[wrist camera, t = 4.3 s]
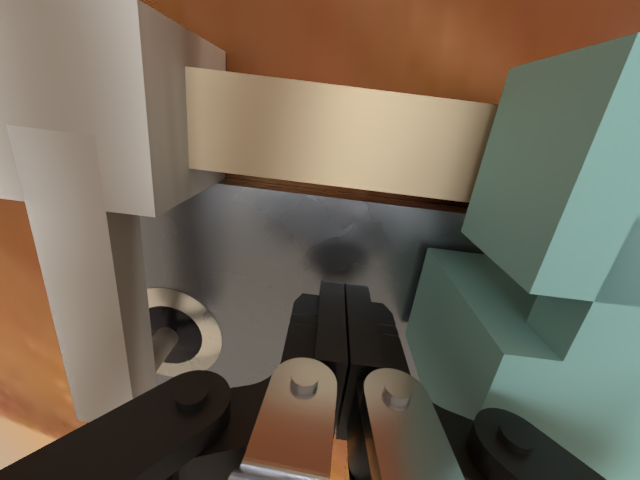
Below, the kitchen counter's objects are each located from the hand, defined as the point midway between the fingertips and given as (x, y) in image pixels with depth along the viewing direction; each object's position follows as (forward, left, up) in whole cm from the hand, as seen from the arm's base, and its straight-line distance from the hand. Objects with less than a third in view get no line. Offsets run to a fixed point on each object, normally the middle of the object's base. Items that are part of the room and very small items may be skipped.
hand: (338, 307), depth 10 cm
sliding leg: (+5, +2, -1) cm, 5 cm away
